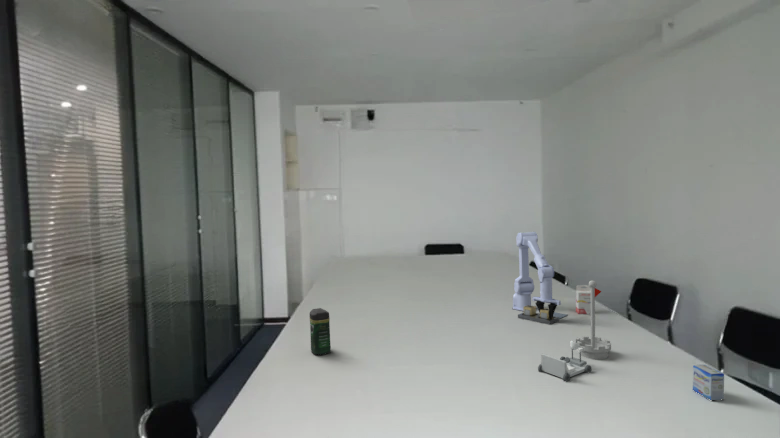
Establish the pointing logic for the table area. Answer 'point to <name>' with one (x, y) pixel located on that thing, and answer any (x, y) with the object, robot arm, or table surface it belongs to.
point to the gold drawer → (530, 310)
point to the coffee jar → (320, 331)
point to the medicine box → (708, 382)
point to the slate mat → (559, 315)
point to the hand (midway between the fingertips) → (546, 316)
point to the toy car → (564, 364)
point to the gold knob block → (545, 314)
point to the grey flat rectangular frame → (538, 318)
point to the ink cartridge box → (583, 299)
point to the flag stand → (595, 345)
